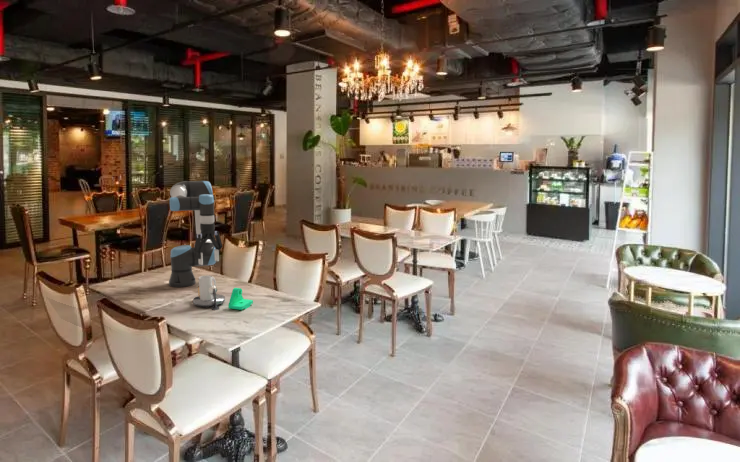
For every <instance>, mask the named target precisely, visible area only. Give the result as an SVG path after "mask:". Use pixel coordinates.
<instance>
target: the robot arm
mask: <svg viewBox="0 0 740 462" xmlns="http://www.w3.org/2000/svg"><path fill="white" fill-rule="evenodd" d="M213 193H214V192H213V188H212V184H211V182H210V181H207V180H184V181H180V182H177V183H175V184H173V185H172V187H170V190H169V195H170V197H169V210H170V211H171V212H182V211H183V212H185V211H186V212H187V211H188V212H189V211H194V218H195V243H194V245H193V246H194V247H192V246H191V245H190V244H187V245H186V244H184V245H183V244H182V245H178V246H175V247H173V248H171V249H170V257H169V258H170V265H171V266H170V269H171V273H170V277H169V281H168V286H170V287H172V288H184V287H191V286H194V285H196V282H197V280H196V277H195V274H194V272H193V267H203V266H213V265H216V263H217V262H219V261H220V250H222V248H224V247H223V243H222V240H221V237H220V231H218V230H215V229H216V225H215V224H216V223H215V199H214V194H213Z"/></svg>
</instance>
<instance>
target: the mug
mask: <svg viewBox="0 0 740 462" xmlns="http://www.w3.org/2000/svg"><path fill="white" fill-rule="evenodd" d="M210 286H215V287H216V286H217V281H216V278H215V276H213V275H210V274H209V275H208V274H207V275H200V276H198V287H199V291H200V300H202V301H207V300H211V299H212V298H213V295H211V294H209V293H208V289H209V287H210ZM216 288H217V287H216Z"/></svg>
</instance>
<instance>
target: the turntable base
mask: <svg viewBox="0 0 740 462" xmlns="http://www.w3.org/2000/svg"><path fill="white" fill-rule="evenodd" d="M220 305H221V304H219V305H217V307H219V306H220ZM198 307H200V308H211V307H214V306H198Z"/></svg>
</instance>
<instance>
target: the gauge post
mask: <svg viewBox="0 0 740 462" xmlns="http://www.w3.org/2000/svg"><path fill="white" fill-rule="evenodd" d="M217 292H218V288H217V287H215V286H214V285H212V286H210V287H209V289H208V293H209V294H211V295H214V307H210V308H211V310H213V311H217V310H220V307H219V306H217V304H216V294H217Z"/></svg>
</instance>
